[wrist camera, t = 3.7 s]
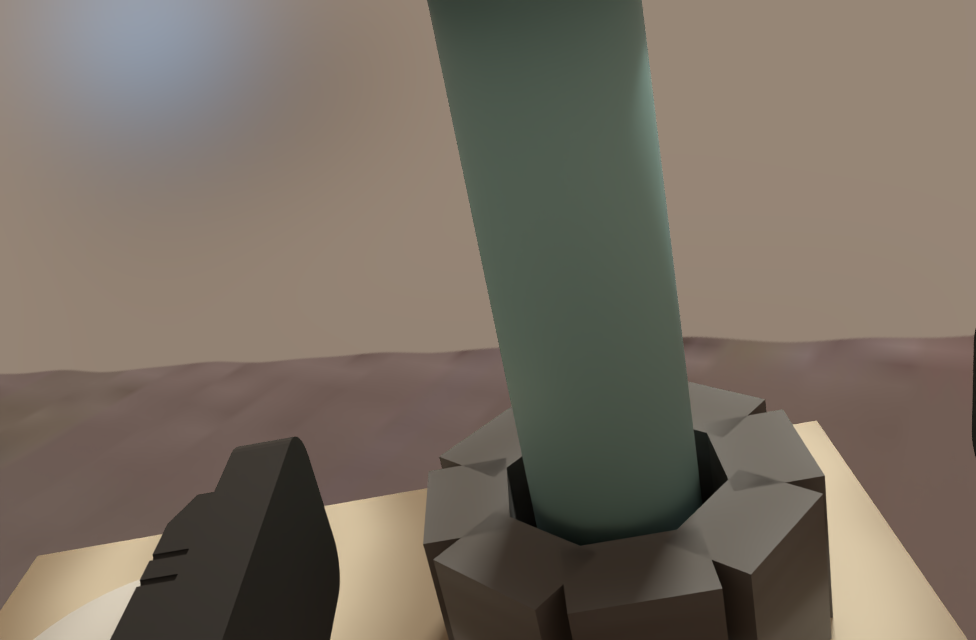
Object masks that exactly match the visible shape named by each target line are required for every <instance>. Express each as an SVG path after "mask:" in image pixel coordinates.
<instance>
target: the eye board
mask: <svg viewBox="0 0 976 640" xmlns="http://www.w3.org/2000/svg"><path fill="white" fill-rule="evenodd" d="M688 388H689V396H690V404H691V413H692V421H693V429H694V437H695V446H696V454H697V462H698V470H699V479H700V487H701V495H702V504H703V505H702V506H701V507H700V508H699V509H698V510H697V511H696V512H695V513H694V514H693V515H691V516H690V517H689V518H688V519H687V520H686V521H685V522H684V523H683V524H682V525H681V526H680V527H679V528H678V529H677V530H672V531H666V532H660V533H654V534H648V535H642V536H636V537H630V538H624V539H618V540H612V541H606V542H600V543H594V544H589V545H583V546H579V545H577V544H574V543H572V542H569V541H567V540H565V539H562V538H560V537H557V536H555V535H552V534H550V533H548V532H545V531H543V530H540V529H538V528H537V525H536V520H535V515H534V511H533V506H532V501H531V496H530V491H529V487H528V482H527V477H526V472H525V467H524V463H523V458H522V453H521V448H520V443H519V438H518V434H517V429H516V424H515V419H514V414H513V410H512V407H510V408H509V409H507V410H506V411H504V412H503V413H501V414H500V415H499V416H497V417H496V418H494V419H493V420H491V421H490V422H489V423H487V424H486V425H484V426H483V427H481V428H480V429H478V430H477V431H476V432H474V433H473V434H471V435H470V436H468V437H467V438H465V439H464V440H463V441H461V442H460V443H458V444H457V445H455V446H454V447H453V448H451V449H450V450H448V451H447V452H445V453H444V454H442V455H441V456H440V461H441V465H442V469H439V470H434V471H429V473H428V486H427V488H426V489H421V490H415V491H409V492H403V493H398V494H392V495H386V496H380V497H375V498H369V499H363V500H357V501H352V502H346V503H340V504H334V505H328V506H324V507H325V511H326V514H327V517H328V520H329V523H330V527H331V530H332V533H333V536H334V540H335V543H336V548H337V553H338V559H339V568H340V590H339V597H338V602H337V607H336V612H335V617H334V622H333V628H332V633H331V638H330V640H967V638H966V637H965V635H964V634H963V632H962V631H961V629H960V628H959V626H958V625H957V624H956V622H955V621H954V619H953V618H952V616H951V615H950V613H949V612H948V611H947V609H946V608H945V606H944V605H943V603H942V602H941V600H940V599H939V597H938V596H937V595H936V593H935V592H934V590H933V589H932V587H931V586H930V584H929V583H928V582H927V580H926V579H925V577H924V576H923V574H922V573H921V571H920V570H919V569H918V567H917V566H916V564H915V563H914V561H913V560H912V558H911V557H910V555H909V554H908V553H907V551H906V550H905V548H904V547H903V545H902V544H901V542H900V541H899V540H898V538H897V537H896V535H895V534H894V532H893V531H892V529H891V528H890V527H889V525H888V524H887V522H886V521H885V519H884V518H883V516H882V515H881V513H880V512H879V511H878V509H877V508H876V506H875V505H874V503H873V502H872V500H871V499H870V498H869V496H868V495H867V493H866V492H865V490H864V489H863V487H862V486H861V484H860V483H859V482H858V480H857V479H856V477H855V476H854V474H853V473H852V471H851V470H850V469H849V467H848V466H847V464H846V463H845V461H844V460H843V458H842V457H841V456H840V454H839V453H838V451H837V450H836V448H835V447H834V445H833V444H832V442H831V441H830V440H829V438H828V437H827V435H826V434H825V432H824V431H823V429H822V428H821V427H820V425H819V424H818V422H817V421H812V422H806V423H800V424H795V425H792V423H791V422H790V420H789V418H788V417H787V415H786V414H785V412H784V411H783V409H782V410H777V411H771V412H766V403H765V399H761V398H757V397H752V396H748V395H744V394H739V393H735V392H731V391H726V390H722V389H718V388H713V387H709V386H705V385H700V384H696V383H692V382H688ZM161 536H162V535H156V536H150V537H144V538H139V539H133V540H127V541H121V542H116V543H110V544H104V545H98V546H93V547H87V548H81V549H75V550H69V551H64V552H58V553H52V554H46V555H41V556H37V558H36V559H35V561H34V562H33V564H32V565H31V567H30V568H29V569H28V571H27V572H26V574H25V575H24V577H23V578H22V580H21V581H20V583H19V584H18V586H17V587H16V589H15V590H14V591H13V593H12V594H11V596H10V597H9V599H8V600H7V602H6V603H5V605H4V606H3V608H2V609H1V611H0V640H110V639H111V637H112V635H113V633H114V631H115V629H116V627H117V625H118V623H119V621H120V619H121V617H122V615H123V613H124V611H125V609H126V607H127V605H128V603H129V601H130V599H131V597H132V595H133V593H134V591H135V589H136V587H138V586H140V578H141V576H142V574H143V572H144V570H145V568H146V566H147V564H148V562H149V561H151V560H153V555H152V554H153V552H154V550H155V548H156V546H157V544H158V542H159V540H160V538H161Z"/></svg>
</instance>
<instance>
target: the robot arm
mask: <svg viewBox="0 0 976 640" xmlns="http://www.w3.org/2000/svg"><path fill="white" fill-rule="evenodd" d="M972 441H973V447H974V452H975V456H976V330H975V335H974V362H973V409H972ZM152 555H153V560H151V561H149V562H148V564H147V566H146V568H145V570H144V572H143V574H142V576H141V578H140V586H138V587H136V589H135V591H134V593H133V595H132V597H131V599H130V601H129V603H128V605H127V607H126V609H125V611H124V613H123V615H122V617H121V619H120V621H119V623H118V625H117V627H116V629H115V631H114V633H113V635H112V637H111V639H110V640H330V638H331V633H332V628H333V622H334V617H335V612H336V607H337V602H338V597H339V590H340V568H339V559H338V553H337V548H336V543H335V540H334V536H333V533H332V530H331V527H330V523H329V520H328V517H327V514H326V511H325V507H324V504H323V501H322V498H321V495H320V492H319V488H318V485H317V482H316V479H315V476H314V472H313V469H312V466H311V463H310V460H309V456H308V454H307V451H306V448H305V446H304V444H303V443H302V441H301V440H300V439H299V438H298V437H290V438H285V439H279V440H273V441H268V442H262V443H256V444H251V445H245V446H239V447H236V448H235V449H234V450H233V452H232V453H231V456H230V458H229V460H228V462H227V465H226V467H225V469H224V471H223V474H222V476H221V478H220V480H219V483H218V485H217V487H216V489H215V492H211V493H205V494H200V495H197V496H196V497H195V498H194V499H193V500H192V501H191V502H190V503H189V504H188V505H187V506H186V507H185V508H184V509H183V510H182V511H180V512H179V513H178V514H177V515H176V516H175V517H174V518H173V519H172V520H171V521H170V522H169V523H168V524H167V526H166V528H165V530H164V532H163V534H162V536H161V538H160V540H159V542H158V544H157V546H156V548H155V550H154V552H153V554H152Z"/></svg>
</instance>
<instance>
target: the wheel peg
mask: <svg viewBox="0 0 976 640" xmlns="http://www.w3.org/2000/svg"><path fill="white" fill-rule="evenodd" d="M427 1H428V6H429V10H430V15H431V20H432V25H433V30H434V34H435V39H436V44H437V49H438V54H439V58H440V63H441V68H442V73H443V78H444V82H445V87H446V92H447V97H448V102H449V107H450V112H451V116H452V121H453V125H454V131H455V135H456V140H457V145H458V150H459V155H460V160H461V164H462V169H463V174H464V179H465V183H466V188H467V193H468V198H469V203H470V208H471V213H472V217H473V222H474V227H475V232H476V236H477V241H478V246H479V251H480V256H481V261H482V265H483V270H484V275H485V280H486V284H487V289H488V294H489V299H490V304H491V309H492V313H493V318H494V323H495V328H496V333H497V338H498V342H499V347H500V352H501V357H502V362H503V366H504V371H505V376H506V381H507V386H508V390H509V395H510V400H511V405H512V410H513V414H514V419H515V424H516V429H517V434H518V438H519V443H520V448H521V453H522V458H523V463H524V467H525V472H526V477H527V482H528V487H529V491H530V496H531V501H532V506H533V511H534V515H535V520H536V525H537V528H538V529H540V530H543V531H545V532H548V533H550V534H552V535H555V536H557V537H560V538H562V539H565V540H567V541H569V542H572V543H574V544H577V545H579V546H583V545H589V544H594V543H600V542H606V541H612V540H618V539H624V538H630V537H636V536H642V535H648V534H654V533H660V532H666V531H672V530H677V529H678V528H679V527H680V526H681V525H682V524H683V523H684V522H685V521H686V520H687V519H688V518H689V517H690V516H691V515H693V514H694V513H695V512H696V511H697V510H698V509H699V508H700V507H701V506H702V505H703V504H702V495H701V487H700V479H699V470H698V462H697V454H696V446H695V437H694V429H693V421H692V413H691V404H690V396H689V388H688V380H687V371H686V363H685V355H684V347H683V338H682V330H681V322H680V314H679V305H678V297H677V290H676V280H675V273H674V265H673V256H672V247H671V239H670V231H669V223H668V215H667V206H666V198H665V190H664V181H663V174H662V165H661V157H660V149H659V141H658V132H657V124H656V115H655V107H654V99H653V90H652V82H651V74H650V66H649V58H648V49H647V42H646V33H645V25H644V17H643V8H642V0H427Z"/></svg>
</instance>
